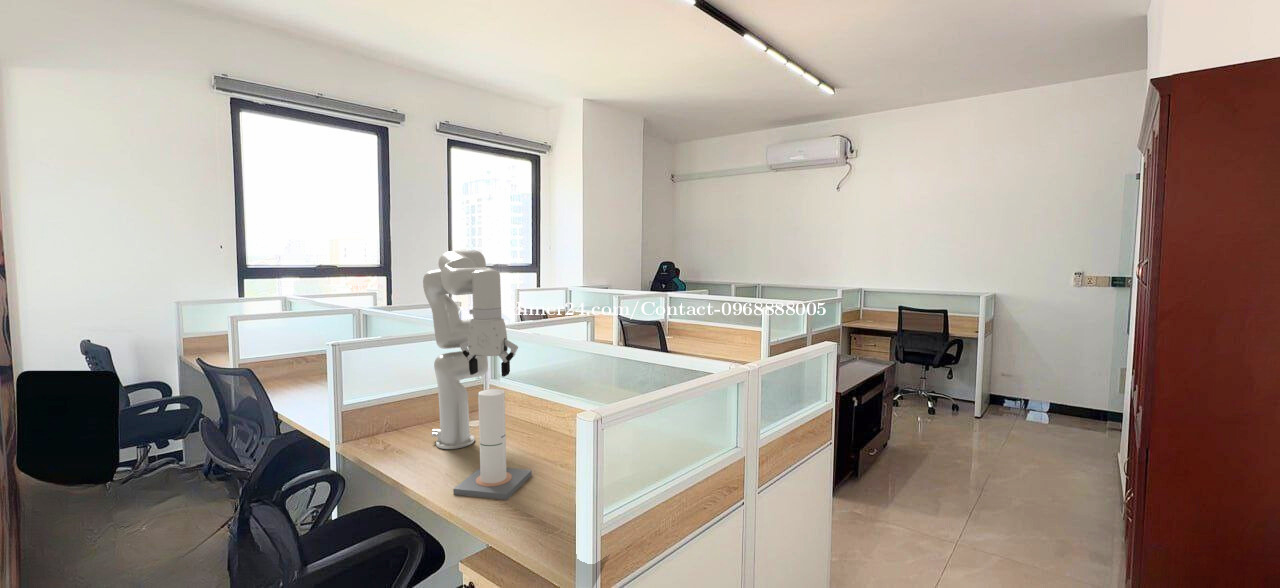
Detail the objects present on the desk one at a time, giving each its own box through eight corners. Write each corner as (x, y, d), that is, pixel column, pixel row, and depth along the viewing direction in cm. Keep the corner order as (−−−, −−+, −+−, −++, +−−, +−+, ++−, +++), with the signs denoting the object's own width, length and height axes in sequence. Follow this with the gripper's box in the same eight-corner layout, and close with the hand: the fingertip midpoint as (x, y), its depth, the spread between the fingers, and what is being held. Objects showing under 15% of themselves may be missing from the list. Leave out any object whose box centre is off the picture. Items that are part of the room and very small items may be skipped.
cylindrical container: (511, 474, 160) (509, 390, 157) (497, 484, 153) (495, 396, 150) (490, 471, 162) (487, 388, 160) (475, 481, 155) (472, 394, 153)
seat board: (453, 494, 151) (453, 488, 151) (482, 470, 167) (482, 464, 167) (506, 499, 148) (506, 493, 148) (531, 475, 163) (531, 469, 163)
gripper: (451, 315, 151) (454, 376, 153) (509, 317, 147) (511, 379, 149) (466, 311, 158) (468, 369, 160) (522, 313, 154) (523, 372, 156)
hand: (489, 374), depth 154 cm, fingers open, 9 cm apart
